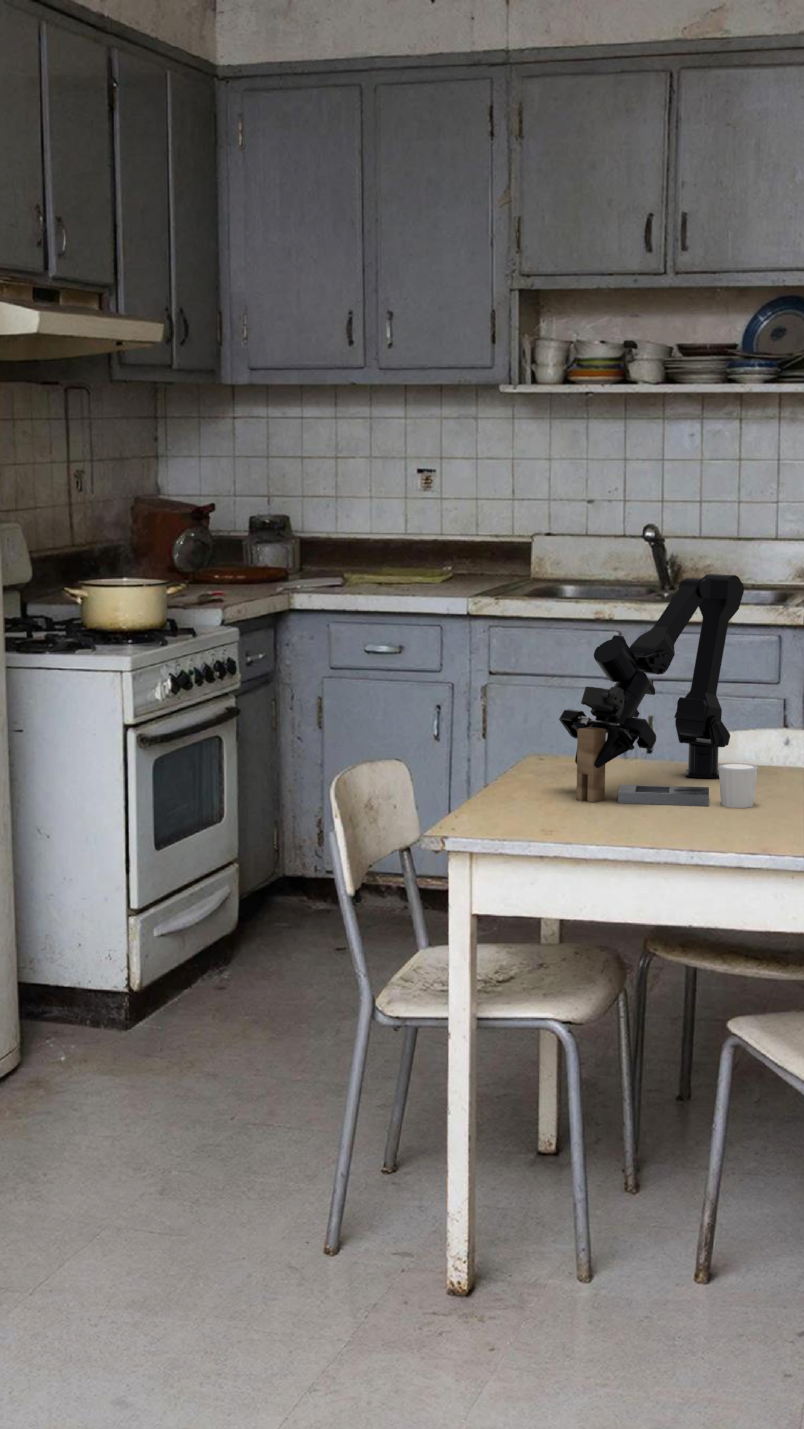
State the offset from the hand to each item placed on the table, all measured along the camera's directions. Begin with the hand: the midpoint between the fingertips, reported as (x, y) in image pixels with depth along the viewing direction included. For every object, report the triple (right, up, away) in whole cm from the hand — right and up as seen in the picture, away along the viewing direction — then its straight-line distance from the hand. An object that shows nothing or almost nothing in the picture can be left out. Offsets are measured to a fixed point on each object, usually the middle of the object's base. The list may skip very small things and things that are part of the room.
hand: (586, 765), depth 302 cm
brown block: (+1, -6, +2) cm, 7 cm away
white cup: (+27, -7, -3) cm, 28 cm away
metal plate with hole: (+14, -6, +1) cm, 16 cm away
